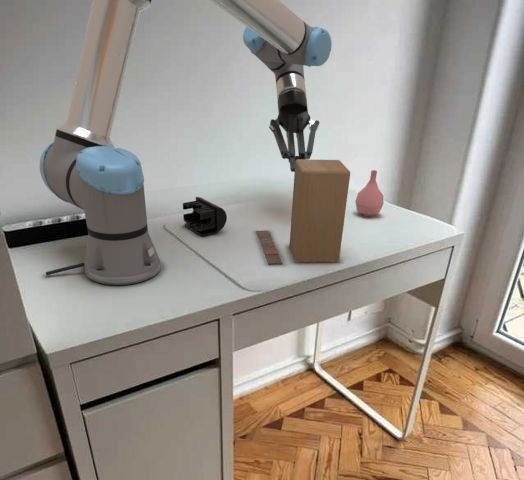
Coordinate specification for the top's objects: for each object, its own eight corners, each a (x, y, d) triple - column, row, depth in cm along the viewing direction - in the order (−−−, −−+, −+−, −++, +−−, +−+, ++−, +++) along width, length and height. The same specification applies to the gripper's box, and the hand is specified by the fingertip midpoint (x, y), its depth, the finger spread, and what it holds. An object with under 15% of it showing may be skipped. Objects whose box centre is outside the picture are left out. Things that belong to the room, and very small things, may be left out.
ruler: (256, 232, 126) (256, 230, 126) (268, 232, 126) (268, 230, 126) (268, 264, 110) (268, 262, 109) (282, 264, 110) (282, 262, 110)
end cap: (227, 232, 125) (227, 205, 121) (202, 237, 122) (202, 210, 118) (206, 220, 132) (206, 195, 128) (182, 225, 128) (181, 199, 124)
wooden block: (330, 245, 120) (340, 159, 109) (339, 263, 112) (351, 171, 101) (289, 246, 119) (295, 158, 108) (295, 263, 111) (302, 170, 100)
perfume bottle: (364, 220, 136) (371, 175, 130) (348, 212, 142) (354, 168, 135) (387, 217, 139) (394, 173, 133) (370, 209, 145) (376, 166, 138)
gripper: (313, 109, 133) (321, 190, 128) (264, 108, 131) (271, 190, 127) (319, 89, 126) (329, 174, 121) (268, 87, 124) (276, 174, 119)
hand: (299, 182), depth 124 cm, fingers closed
